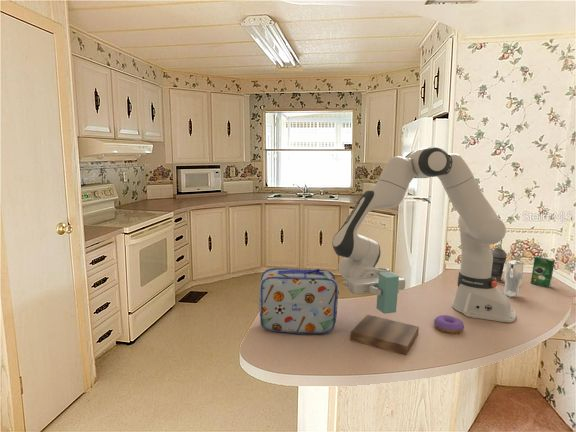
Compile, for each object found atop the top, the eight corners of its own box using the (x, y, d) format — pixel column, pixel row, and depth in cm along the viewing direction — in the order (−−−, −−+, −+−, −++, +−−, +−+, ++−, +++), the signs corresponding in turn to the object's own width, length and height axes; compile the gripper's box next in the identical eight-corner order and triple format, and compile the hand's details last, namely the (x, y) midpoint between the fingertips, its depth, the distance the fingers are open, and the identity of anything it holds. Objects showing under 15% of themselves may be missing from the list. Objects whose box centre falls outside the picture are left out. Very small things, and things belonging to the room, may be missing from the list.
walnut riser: (418, 334, 136) (418, 326, 135) (406, 355, 122) (407, 346, 122) (366, 322, 145) (367, 314, 144) (350, 340, 131) (350, 331, 130)
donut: (428, 327, 141) (431, 314, 141) (438, 325, 148) (441, 312, 148) (457, 337, 134) (460, 323, 134) (466, 334, 141) (469, 320, 141)
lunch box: (336, 323, 143) (339, 263, 140) (340, 336, 133) (344, 272, 130) (259, 322, 143) (260, 262, 139) (257, 335, 133) (258, 271, 129)
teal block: (388, 306, 135) (390, 272, 133) (395, 312, 131) (398, 276, 129) (376, 308, 133) (379, 273, 131) (384, 313, 129) (386, 277, 127)
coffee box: (551, 286, 189) (555, 259, 187) (549, 287, 187) (553, 260, 185) (532, 282, 195) (535, 255, 193) (530, 283, 193) (533, 256, 191)
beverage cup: (498, 277, 201) (503, 237, 198) (507, 281, 194) (512, 241, 191) (484, 276, 201) (488, 237, 198) (492, 281, 194) (497, 241, 190)
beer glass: (522, 298, 172) (526, 264, 170) (504, 297, 173) (508, 263, 171) (516, 293, 179) (520, 260, 177) (499, 291, 180) (503, 259, 178)
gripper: (341, 272, 139) (361, 285, 126) (391, 268, 146) (416, 280, 133) (340, 289, 140) (360, 304, 127) (390, 284, 147) (414, 298, 134)
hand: (389, 292), depth 130 cm, fingers closed on teal block, 4 cm apart
